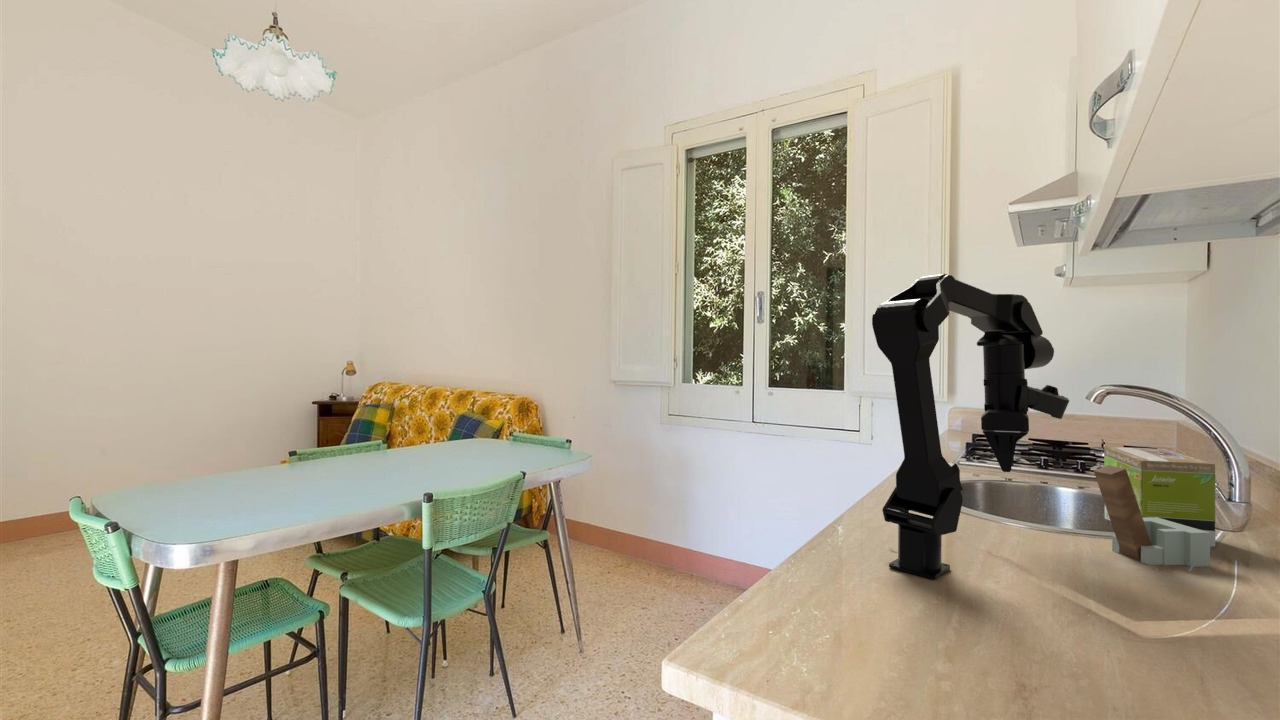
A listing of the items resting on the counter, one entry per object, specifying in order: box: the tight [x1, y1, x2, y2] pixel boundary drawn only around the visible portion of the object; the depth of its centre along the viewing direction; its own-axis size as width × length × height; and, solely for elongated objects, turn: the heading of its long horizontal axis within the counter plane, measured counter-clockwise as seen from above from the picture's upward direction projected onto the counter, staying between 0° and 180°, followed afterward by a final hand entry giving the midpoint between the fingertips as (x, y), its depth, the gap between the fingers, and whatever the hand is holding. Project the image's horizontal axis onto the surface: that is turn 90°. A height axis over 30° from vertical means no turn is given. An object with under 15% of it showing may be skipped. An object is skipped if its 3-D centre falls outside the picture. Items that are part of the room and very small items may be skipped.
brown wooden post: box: [1093, 465, 1152, 562], centre depth 86 cm, size 2×3×14 cm
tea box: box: [1103, 446, 1216, 547], centre depth 100 cm, size 15×10×15 cm, turn 161°
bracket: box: [1111, 517, 1211, 568], centre depth 87 cm, size 10×8×6 cm
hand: (1006, 465), depth 96 cm, fingers open, 9 cm apart
